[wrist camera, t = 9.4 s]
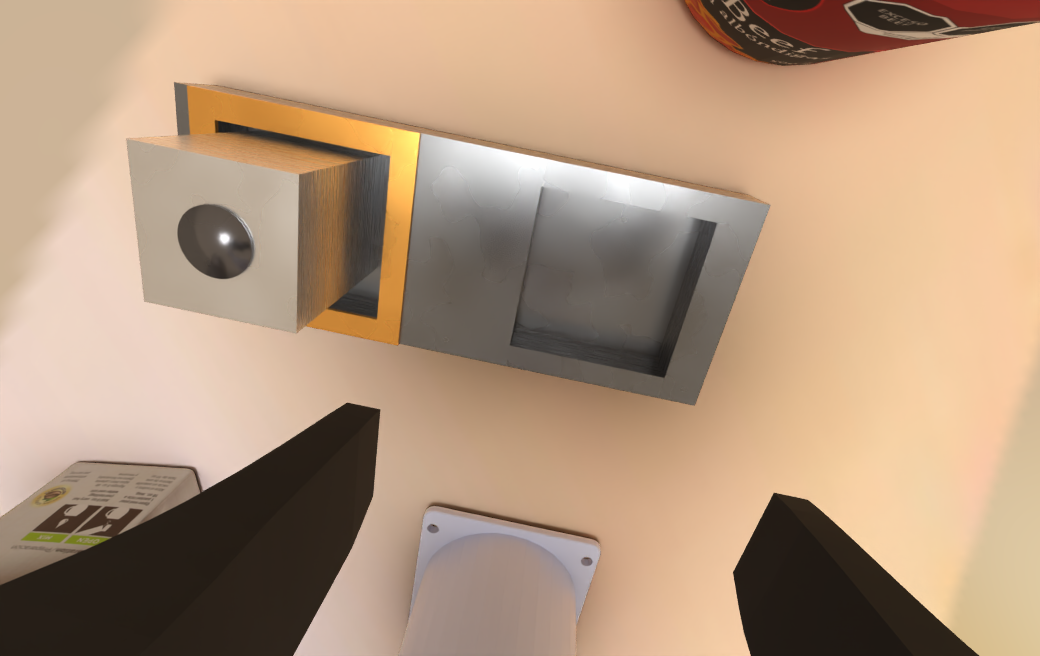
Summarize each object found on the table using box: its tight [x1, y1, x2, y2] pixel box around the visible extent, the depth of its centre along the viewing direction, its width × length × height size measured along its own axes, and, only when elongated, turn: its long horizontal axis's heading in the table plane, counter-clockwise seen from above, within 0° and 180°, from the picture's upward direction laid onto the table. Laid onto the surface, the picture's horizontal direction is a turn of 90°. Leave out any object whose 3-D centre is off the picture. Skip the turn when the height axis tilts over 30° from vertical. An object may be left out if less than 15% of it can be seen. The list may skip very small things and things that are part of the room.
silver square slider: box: [126, 130, 386, 333], centre depth 15 cm, size 4×4×6 cm
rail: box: [174, 82, 770, 406], centre depth 17 cm, size 7×18×2 cm, turn 79°
